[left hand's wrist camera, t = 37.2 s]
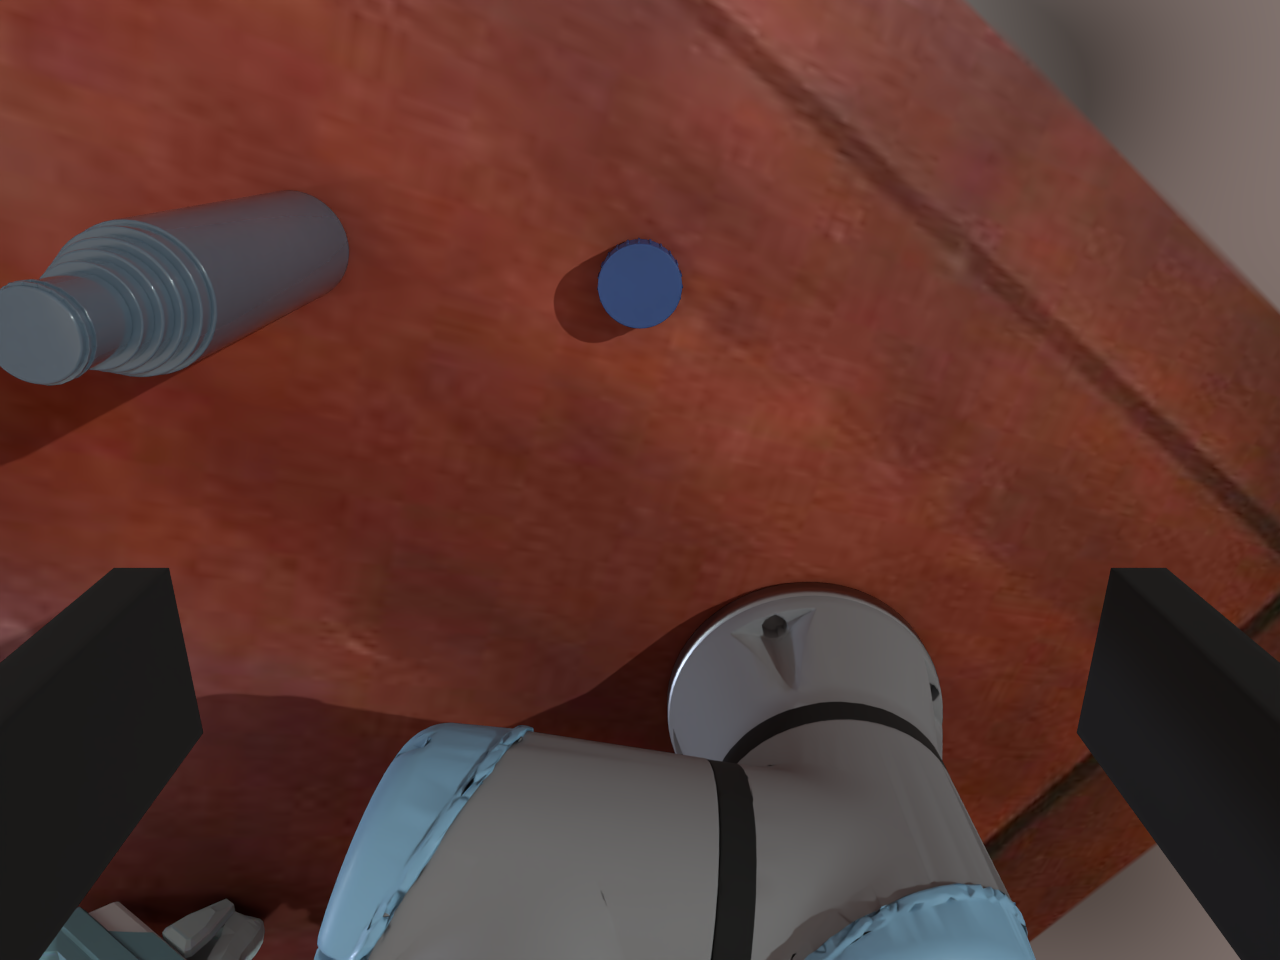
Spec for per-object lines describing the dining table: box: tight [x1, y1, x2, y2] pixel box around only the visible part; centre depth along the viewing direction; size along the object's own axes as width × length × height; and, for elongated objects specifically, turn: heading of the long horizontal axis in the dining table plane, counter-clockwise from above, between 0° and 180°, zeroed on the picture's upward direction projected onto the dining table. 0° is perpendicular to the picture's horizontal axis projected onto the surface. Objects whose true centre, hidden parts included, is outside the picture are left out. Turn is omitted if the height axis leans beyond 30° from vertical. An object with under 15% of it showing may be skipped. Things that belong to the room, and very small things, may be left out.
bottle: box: [0, 190, 349, 386], centre depth 34 cm, size 5×5×20 cm
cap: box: [597, 238, 683, 328], centre depth 43 cm, size 4×4×2 cm
